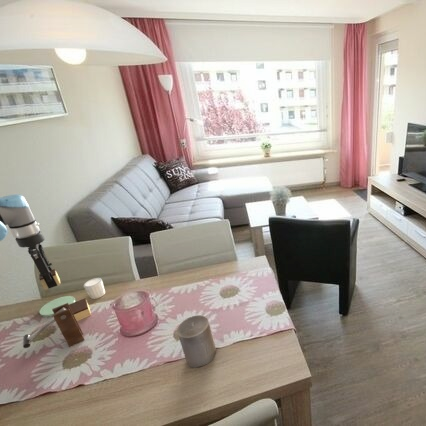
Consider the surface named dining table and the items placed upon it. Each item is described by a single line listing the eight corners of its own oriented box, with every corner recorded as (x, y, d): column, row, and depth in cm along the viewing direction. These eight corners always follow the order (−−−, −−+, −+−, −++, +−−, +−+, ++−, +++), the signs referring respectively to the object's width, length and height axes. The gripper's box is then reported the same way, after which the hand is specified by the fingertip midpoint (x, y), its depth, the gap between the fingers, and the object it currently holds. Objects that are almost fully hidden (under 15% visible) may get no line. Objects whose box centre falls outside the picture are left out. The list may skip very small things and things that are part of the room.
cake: (68, 327, 115) (62, 317, 113) (66, 317, 121) (61, 307, 119) (92, 317, 120) (87, 307, 118) (89, 307, 126) (85, 298, 124)
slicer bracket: (61, 357, 103) (42, 322, 96) (59, 343, 108) (41, 310, 102) (95, 340, 109) (79, 307, 102) (92, 329, 114) (77, 297, 108)
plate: (40, 321, 119) (39, 319, 119) (40, 306, 128) (39, 305, 127) (77, 306, 127) (76, 304, 126) (74, 294, 135) (73, 292, 134)
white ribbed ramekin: (96, 301, 130) (90, 288, 127) (85, 298, 132) (79, 285, 129) (110, 291, 135) (105, 279, 133) (99, 288, 138) (94, 276, 135)
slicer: (27, 349, 96) (20, 346, 95) (27, 340, 100) (20, 336, 99) (70, 315, 102) (64, 312, 101) (68, 308, 106) (63, 304, 104)
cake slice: (44, 289, 118) (39, 278, 116) (44, 284, 122) (39, 273, 120) (60, 284, 121) (55, 273, 119) (59, 279, 125) (54, 268, 123)
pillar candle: (203, 340, 107) (194, 308, 101) (222, 350, 102) (214, 318, 96) (180, 360, 99) (169, 327, 93) (199, 373, 94) (189, 338, 88)
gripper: (41, 238, 108) (65, 289, 118) (40, 224, 121) (62, 271, 130) (13, 246, 104) (41, 298, 113) (15, 230, 116) (40, 278, 126)
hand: (52, 283), depth 122 cm, fingers closed on cake slice, 5 cm apart
